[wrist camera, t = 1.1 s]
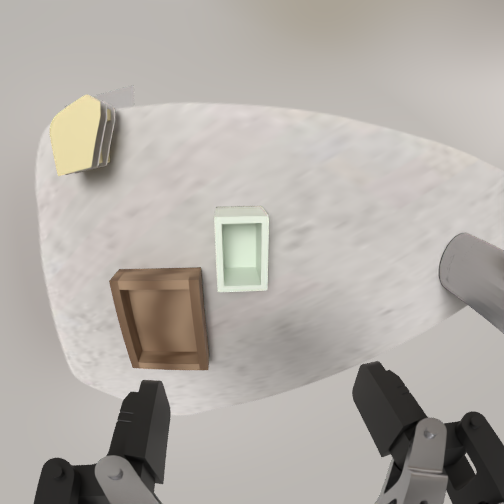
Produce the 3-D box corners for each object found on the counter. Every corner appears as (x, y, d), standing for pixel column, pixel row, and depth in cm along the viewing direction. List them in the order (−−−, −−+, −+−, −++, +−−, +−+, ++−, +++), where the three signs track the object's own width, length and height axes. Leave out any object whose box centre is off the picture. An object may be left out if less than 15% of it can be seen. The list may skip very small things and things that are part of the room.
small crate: (261, 206, 28) (268, 216, 23) (260, 269, 30) (267, 290, 26) (216, 207, 28) (214, 217, 23) (218, 271, 30) (217, 292, 25)
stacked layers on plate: (139, 174, 26) (121, 178, 21) (70, 189, 26) (44, 196, 20) (134, 84, 23) (115, 71, 18) (64, 106, 22) (38, 99, 17)
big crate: (200, 267, 30) (198, 279, 27) (209, 353, 34) (208, 370, 31) (119, 269, 29) (109, 281, 26) (138, 352, 33) (132, 367, 30)
